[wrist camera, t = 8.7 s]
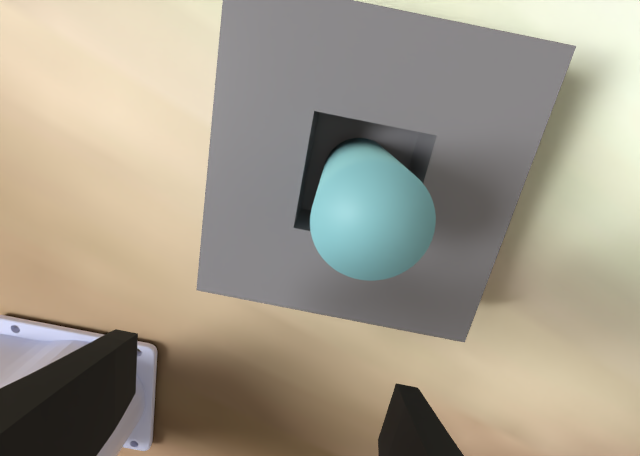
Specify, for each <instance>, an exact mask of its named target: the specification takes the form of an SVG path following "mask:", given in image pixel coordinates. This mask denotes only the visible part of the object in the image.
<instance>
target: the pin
mask: <svg viewBox="0 0 640 456" xmlns="http://www.w3.org/2000/svg"><path fill="white" fill-rule="evenodd" d="M435 225H436V214H435V207H434V204H433V200H432V198H431V196H430V193H429V192H428V190H427V188H426V187H425V185H424V184H423V183H422V182H421V181H420V180H419V179H418V178H417V177H416V176H415V175H414V174H413V173H412V172H410V171H409V170H408V169H407V168H406V167H405V166H404V165H402V164H401V163H400V162H399V161H398V160H397V159H396V158H394V157H393V156H392V155H391V154H390V153H389V152H388V151H386V150H385V149H384V148H383V147H382V146H381V145H379V144H378V143H376V142H375V141H373V140H370V139H366V138H352V139H348V140H345V141H343V142H341V143H340V144H338V145H337V146H336V147H335V148H334V149H333V150H332V151H331V152H330V154H329V155H328V157H327V159H326V162H325V165H324V168H323V172H322V175H321V179H320V182H319V185H318V189H317V192H316V195H315V199H314V202H313V206H312V209H311V215H310V231H311V235H312V239H313V242H314V245H315V247H316V249H317V251H318V253H319V254H320V255H321V257H322V258H323V259H324V260H325V261H326V262H327V264H329V265H330V266H331V267H332V268H333V269H335V270H336V271H338V272H340V273H342V274H344V275H346V276H348V277H351V278H354V279H359V280H367V281H375V280H383V279H388V278H391V277H394V276H397V275H399V274H401V273H403V272H405V271H406V270H408V269H409V268H411V267H412V266H413V265H415V264H416V263H417V262H418V261H419V260H420V259H421V257H422V256H423V255H424V254H425V252H426V251H427V249H428V247H429V245H430V243H431V241H432V238H433V235H434V231H435Z"/></svg>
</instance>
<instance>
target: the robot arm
mask: <svg viewBox="0 0 640 456" xmlns="http://www.w3.org/2000/svg"><path fill="white" fill-rule="evenodd" d="M17 326H18V327H19V328H18V327H17ZM137 340H138V334H136V333H131V332H126V331H121V330H114V331H112V332H110V333H108V334H106V335H104V334H99V333H94V332H88V331H83V330H78V329H73V328H68V327H62V326H57V325H52V324H47V323H42V322H37V321H31V320H26V319H21V318H16V317H11V316H5V315H0V456H117V455H118V453H119V452H120V450H121V448H122V447H125V448H130V449H135V450H141V451H146V450H148V449H149V448H150V447H151V445H152V442H153V424H154V406H155V388H156V370H157V348H156V347H155V346H154V345H153V344H150V343H146V342H140V341H137ZM137 349H139V350H140V351H141V352H139V351H138V350H137ZM378 448H379V456H464V455H463V454H462V452H461V451H460V450H459V448H458V447H457V445H456V444H455V442H454V441H453V440H452V438H451V437H450V435H449V434H448V432H447V431H446V429H445V428H444V426H443V425H442V423H441V422H440V420H439V419H438V417H437V416H436V414H435V413H434V411H433V410H432V408H431V407H430V405H429V404H428V402H427V401H426V399H425V398H424V396H423V395H422V393H421V392H420V390H419V389H418V388H416V387H411V386H406V385H401V384H396V385H395V389H394V392H393V395H392V398H391V401H390V404H389V407H388V411H387V414H386V417H385V420H384V423H383V426H382V429H381V432H380V436H379V439H378Z"/></svg>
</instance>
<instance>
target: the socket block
mask: <svg viewBox="0 0 640 456" xmlns="http://www.w3.org/2000/svg"><path fill="white" fill-rule="evenodd" d="M575 48H576V46H573V45H568V44H563V43H558V42H553V41H549V40H544V39H539V38H534V37H529V36H524V35H519V34H514V33H510V32H505V31H500V30H495V29H490V28H485V27H480V26H475V25H470V24H466V23H461V22H456V21H451V20H446V19H441V18H436V17H431V16H427V15H422V14H417V13H412V12H407V11H402V10H397V9H392V8H387V7H383V6H378V5H373V4H368V3H363V2H358V1H353V0H223V5H222V16H221V27H220V38H219V49H218V60H217V71H216V82H215V93H214V104H213V115H212V126H211V137H210V148H209V159H208V170H207V181H206V192H205V203H204V214H203V225H202V236H201V247H200V258H199V269H198V280H197V290H198V291H203V292H208V293H214V294H219V295H224V296H229V297H234V298H239V299H244V300H249V301H255V302H260V303H265V304H270V305H275V306H280V307H285V308H291V309H296V310H301V311H306V312H311V313H316V314H321V315H327V316H332V317H337V318H342V319H347V320H352V321H357V322H363V323H368V324H373V325H378V326H383V327H388V328H393V329H398V330H404V331H409V332H414V333H419V334H424V335H429V336H434V337H440V338H445V339H450V340H455V341H460V342H465V340H466V337H467V334H468V332H469V329H470V327H471V324H472V321H473V319H474V316H475V313H476V311H477V308H478V305H479V303H480V300H481V297H482V295H483V292H484V289H485V287H486V284H487V281H488V279H489V276H490V273H491V271H492V268H493V266H494V263H495V260H496V258H497V255H498V252H499V250H500V247H501V244H502V242H503V239H504V236H505V234H506V231H507V228H508V226H509V223H510V220H511V218H512V215H513V212H514V210H515V207H516V205H517V202H518V199H519V197H520V194H521V191H522V189H523V186H524V183H525V181H526V178H527V175H528V173H529V170H530V167H531V165H532V162H533V159H534V157H535V154H536V151H537V149H538V146H539V144H540V141H541V138H542V136H543V133H544V130H545V128H546V125H547V122H548V120H549V117H550V114H551V112H552V109H553V106H554V104H555V101H556V98H557V96H558V93H559V90H560V88H561V85H562V83H563V80H564V77H565V75H566V72H567V69H568V67H569V64H570V61H571V59H572V56H573V53H574V51H575ZM352 138H366V139H370V140H373V141H375V142H376V143H378V144H379V145H381V146H382V147H383V148H384V149H385V150H386V151H388V152H389V153H390V154H391V155H392V156H393V157H394V158H396V159H397V160H398V161H399V162H400V163H401V164H402V165H404V166H405V167H406V168H407V169H408V170H409V171H410V172H412V173H413V174H414V175H415V176H416V177H417V178H418V179H419V180H420V181H421V182H422V183H423V184H424V185H425V187H426V188H427V190H428V192H429V193H430V196H431V198H432V200H433V204H434V207H435V214H436V225H435V231H434V235H433V238H432V241H431V243H430V245H429V247H428V249H427V251H426V252H425V254H424V255H423V256H422V257H421V259H420V260H419V261H418V262H417V263H416V264H415V265H413V266H412V267H411V268H409V269H408V270H406V271H405V272H403V273H401V274H399V275H397V276H394V277H391V278H388V279H383V280H375V281H367V280H359V279H354V278H351V277H348V276H346V275H344V274H342V273H340V272H338V271H336V270H335V269H333V268H332V267H331V266H330V265H329V264H327V262H326V261H325V260H324V259H323V258H322V257H321V255H320V254H319V253H318V251H317V249H316V247H315V245H314V242H313V239H312V235H311V231H310V215H311V209H312V206H313V202H314V199H315V195H316V192H317V189H318V185H319V182H320V179H321V175H322V172H323V168H324V165H325V162H326V159H327V157H328V155H329V154H330V152H331V151H332V150H333V149H334V148H335V147H336V146H337V145H338V144H340V143H341V142H343V141H345V140H348V139H352Z"/></svg>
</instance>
